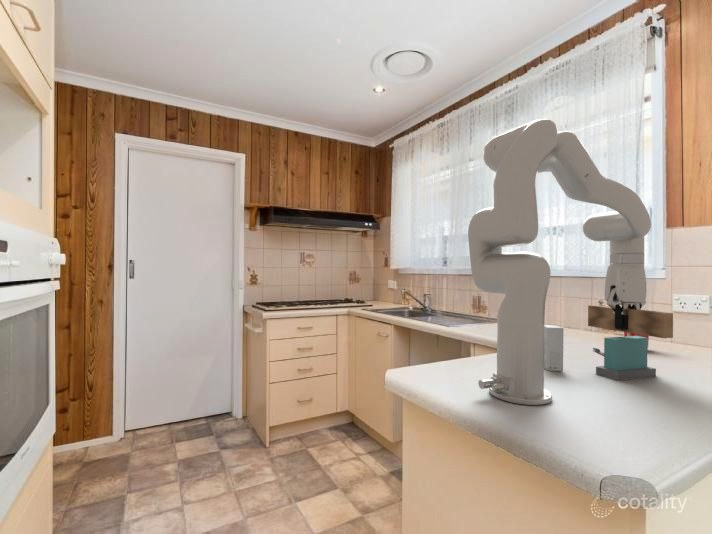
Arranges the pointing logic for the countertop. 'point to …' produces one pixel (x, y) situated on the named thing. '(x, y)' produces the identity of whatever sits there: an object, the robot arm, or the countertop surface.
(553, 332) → the skincare box
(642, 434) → the countertop surface
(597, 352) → the tomahawk
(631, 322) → the walnut beam
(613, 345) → the teal box with base
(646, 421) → the countertop surface
